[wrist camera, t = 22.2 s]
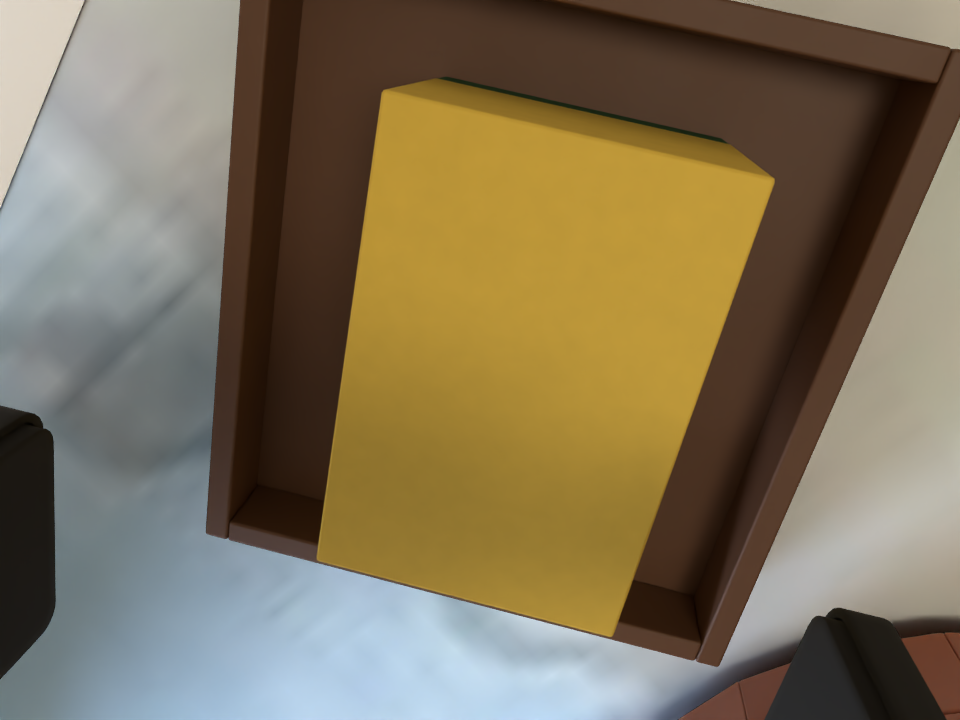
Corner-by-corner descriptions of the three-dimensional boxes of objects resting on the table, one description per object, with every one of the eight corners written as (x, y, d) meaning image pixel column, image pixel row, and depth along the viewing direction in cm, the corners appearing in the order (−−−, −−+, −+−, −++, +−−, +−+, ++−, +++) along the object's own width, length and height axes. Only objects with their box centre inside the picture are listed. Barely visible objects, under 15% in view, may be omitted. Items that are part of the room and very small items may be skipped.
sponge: (380, 440, 20) (314, 561, 15) (442, 75, 16) (381, 88, 11) (609, 498, 19) (612, 639, 15) (724, 138, 16) (777, 178, 11)
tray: (242, 486, 21) (204, 534, 19) (292, -85, 16) (245, -104, 14) (706, 605, 21) (719, 668, 19) (934, 53, 15) (989, 55, 13)
